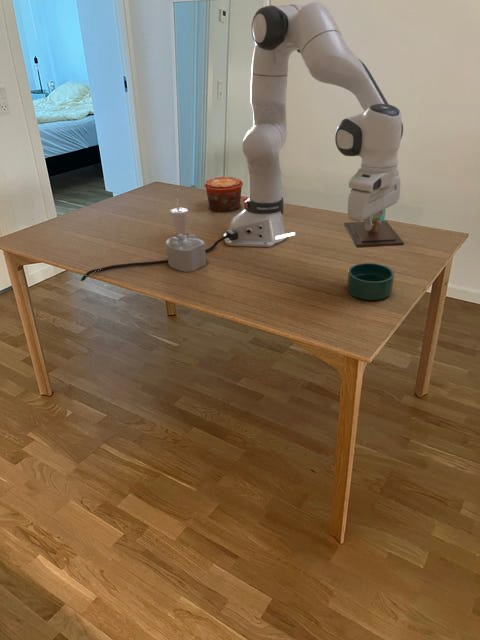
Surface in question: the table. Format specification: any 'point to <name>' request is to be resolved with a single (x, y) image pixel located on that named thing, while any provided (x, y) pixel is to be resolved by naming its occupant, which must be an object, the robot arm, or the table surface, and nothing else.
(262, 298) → the table surface
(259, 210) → the robot arm
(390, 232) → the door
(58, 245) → the table surface
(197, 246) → the lumpy-topped squat cylinder
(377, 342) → the table surface
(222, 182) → the food container
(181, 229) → the smoothie
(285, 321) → the table surface
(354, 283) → the bowl
